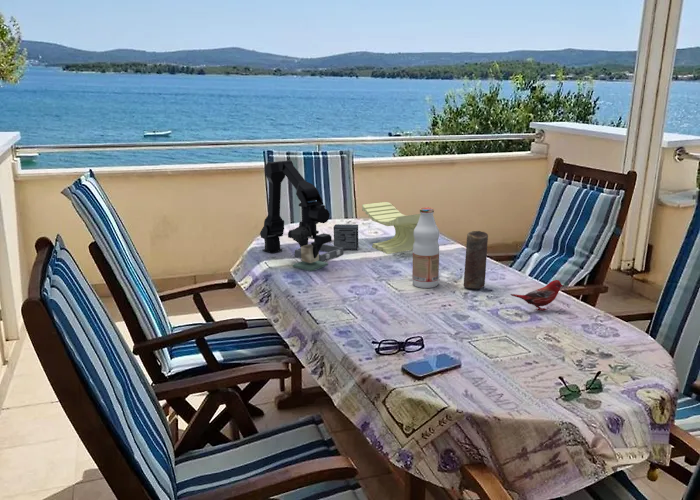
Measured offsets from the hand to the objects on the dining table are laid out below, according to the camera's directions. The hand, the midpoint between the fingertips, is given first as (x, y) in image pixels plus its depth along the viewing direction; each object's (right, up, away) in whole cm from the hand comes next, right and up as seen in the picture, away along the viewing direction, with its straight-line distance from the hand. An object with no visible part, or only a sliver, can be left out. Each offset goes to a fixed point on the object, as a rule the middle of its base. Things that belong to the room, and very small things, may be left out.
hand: (310, 256), depth 243 cm
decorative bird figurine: (+75, -17, -49) cm, 91 cm away
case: (+3, 0, +15) cm, 16 cm away
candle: (+60, -11, -27) cm, 67 cm away
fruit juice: (+43, -10, -23) cm, 50 cm away
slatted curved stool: (+36, +3, +26) cm, 44 cm away
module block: (0, -1, 0) cm, 2 cm away
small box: (+14, +3, +26) cm, 30 cm away
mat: (0, -4, +1) cm, 4 cm away
